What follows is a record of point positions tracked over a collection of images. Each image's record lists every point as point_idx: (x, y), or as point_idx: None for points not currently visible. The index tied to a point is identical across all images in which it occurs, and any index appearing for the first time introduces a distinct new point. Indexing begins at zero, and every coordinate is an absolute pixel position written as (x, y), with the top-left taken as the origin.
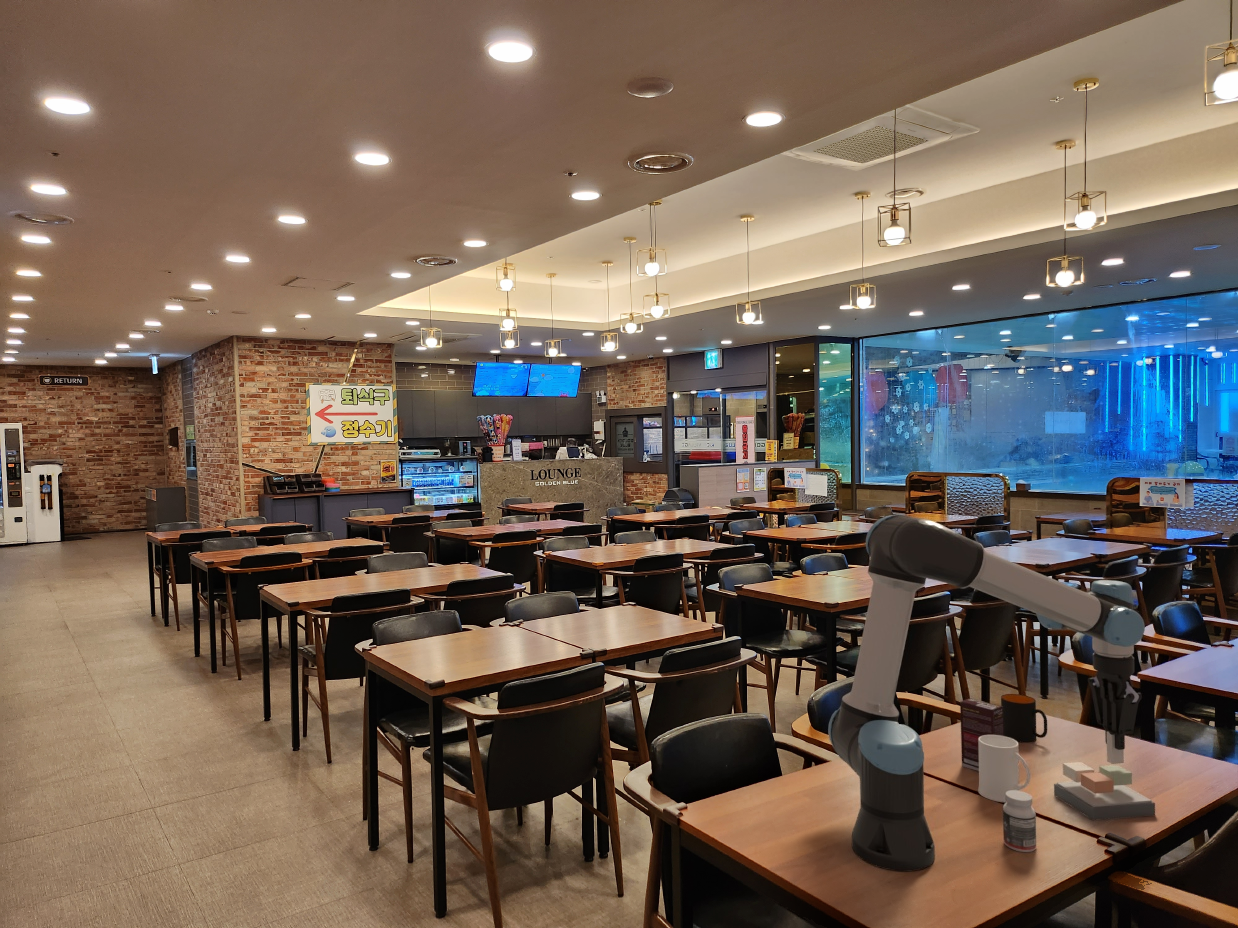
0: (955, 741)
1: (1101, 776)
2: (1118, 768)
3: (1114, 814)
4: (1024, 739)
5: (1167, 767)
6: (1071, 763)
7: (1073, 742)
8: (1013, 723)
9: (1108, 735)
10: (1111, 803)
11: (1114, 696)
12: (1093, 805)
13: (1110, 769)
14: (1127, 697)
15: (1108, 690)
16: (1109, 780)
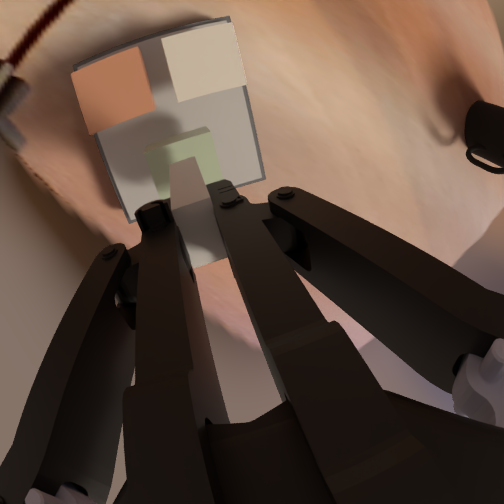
0: (469, 8)
1: (116, 106)
2: None
3: None
4: (469, 123)
5: None
6: (232, 49)
7: (451, 204)
8: (496, 115)
9: (194, 195)
10: None
11: (132, 456)
12: (77, 67)
13: (183, 157)
14: (9, 495)
15: (279, 470)
16: (86, 122)
